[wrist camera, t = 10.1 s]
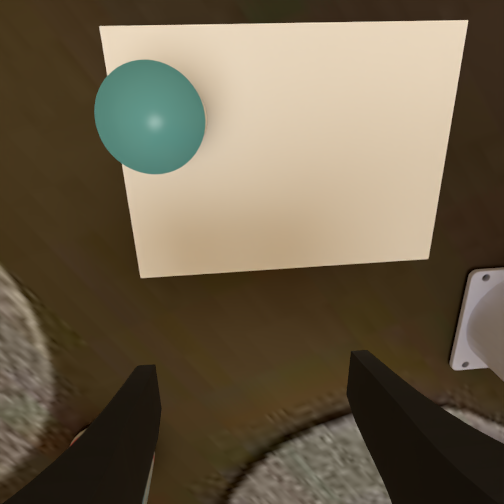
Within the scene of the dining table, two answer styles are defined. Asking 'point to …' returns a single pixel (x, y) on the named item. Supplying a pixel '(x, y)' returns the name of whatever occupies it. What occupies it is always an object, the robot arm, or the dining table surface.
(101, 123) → the green lidded jar
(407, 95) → the paper
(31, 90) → the dining table surface
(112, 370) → the dining table surface
